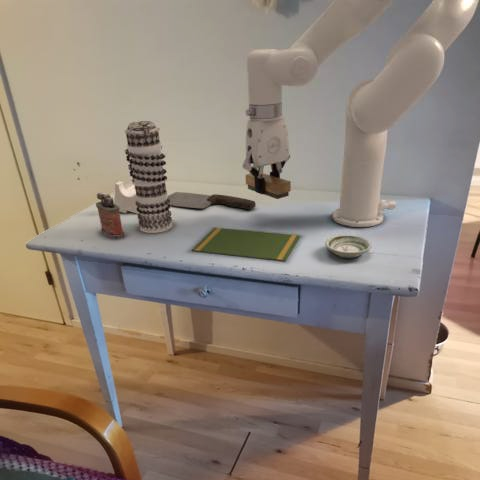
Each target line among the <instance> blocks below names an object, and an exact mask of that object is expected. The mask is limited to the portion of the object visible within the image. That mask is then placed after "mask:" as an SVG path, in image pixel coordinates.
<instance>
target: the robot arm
mask: <svg viewBox="0 0 480 480" xmlns="http://www.w3.org/2000/svg"><path fill="white" fill-rule="evenodd" d="M394 1H395V0H332V2H331V3H330V4H329V5H328V6H327V8H326V9H325V10H324V11H323V13H322V14H320V16H319V17H318V18H317V19H316V20H315V21H314V22H313V23H312V24H311V25H310V26H309V27H308V29H306V30H305V32H303V34H302V35H301V36H300V37H298V39H297V40H296V41H295V42H294V43H293V44H292V45H291V46H290V47H289V48H285V49H281V50H278V49H276V48H261V49H254V50H251V51H249V52H248V54H247V56H246V70H247V92H248V108H247V109H246V110H245V116H247V117H248V118H249V119H248V120H247V123H246V131H245V159H244V161H243V164H242V167H241V168H242V169H243V170H245V171H247V172H249V174H252V176H253V177H255V191H256V192H255V191H254V192H255V193H256V194H260V195H264V194H265V178H263V173H264V167H266V166H270V169H271V171H270V172H269V175H271V176H274V177H278V178H281V174H282V173H283V168H284V167H285V165H286V163H287V162H289V160H290V158H291V154H290V147H289V146H290V145H289V144H290V143H289V133H288V126H287V125H288V124H287V120H286V116H285V115H283V86H288V87H297V88H299V87H304V86H307V85H309V84H310V83H311V82H312V81H313V80H314V78H315V77H316V76H317V72H318V68H319V67H320V66H321V65H322V64H323V63H324V62H325V61H327V59H328V58H329V57H330V56H331V55H333V54H334V53H335V52H336V51H337V50H338V49H339V48H341V46H343V45H344V44H345V43H347V42H348V41H350V40H352V39H354V38H355V37H357V36H358V35H360V34H361V33H363V32H364V31H365V30H366V29H367V28H368V27H369V26H370V25H371V24H372V23H373V22H374V21H375V20H377V19H378V18H379V16H380V15H382V13H383V12H385V11H386V9H387V8H389V7H390V6H391V4H392V3H394ZM479 1H480V0H432V1H431V2H430V4H429V5H428V7H427V8H426V9H425V10H424V12H423V13H422V14H421V16H420V17H418V19H417V20H416V21H415V22H414V23H413V24H412V26H411V27H409V29H408V30H407V31H406V32H405V33H404V35H402V36H401V38H399V40H398V41H397V42H396V43H395V44H394V45H393V46H392V47H391V49H390V50H389V51H388V54H387V56H386V59H385V66H384V68H383V69H382V70H381V71H380V73H379V74H377V76H376V77H375V78H368V79H365V80H362V81H360V82H358V83H357V84H356V85H355V86H354V87H352V89H351V90H350V92H349V94H348V97H347V100H346V105H345V130H344V149H343V159H342V171H341V183H340V196H339V207H338V209H336V210H334V211H333V212H332V219H333V221H334V222H335V223H337V224H339V225H341V226H345V227H352V228H369V227H374V226H378V225H379V224H382V222H383V221H384V214H383V212H384V211H385V210H394V209H396V207H397V202H396V201H395V200H391V201H386V199H380V197H381V191H382V190H381V189H382V181H383V174H384V165H385V158H386V152H387V144H388V143H387V142H388V130H389V129H390V128H392V127H393V126H394V125H395V124H397V123H398V121H400V120H401V119H402V118H403V117H404V115H405V114H407V112H408V111H409V110H411V109H412V107H413V106H414V105H416V103H417V102H418V101H419V100H420V99H421V98H422V97H423V96H424V95H425V94H426V93H427V92H428V91H429V90H430V88H431V87H432V86H433V85H434V84H435V83H436V81H437V80H438V79H439V77H440V75H441V73H442V71H443V68H444V64H445V52H446V51H447V50H448V49H449V47H450V46H451V45H452V44H453V43H454V41H456V39H457V38H458V37H459V36H460V35H461V34H462V32H463V31H464V30H465V29H466V27H467V26H468V24H469V23H470V21H471V20H472V19H473V17H474V14H475V13H476V10H477V8H478V5H479Z"/></svg>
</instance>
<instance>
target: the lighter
mask: <svg viewBox="0 0 480 480" xmlns="http://www.w3.org/2000/svg"><path fill="white" fill-rule="evenodd" d="M96 198H97V200H100V201H97V202H96V203H95V207H96V208H97V212H98V217H99V221H100V227H101V228H100V229H101V233H102V234H103V235H104V236H106V237H108V238H111V239H115V240H119V239H123V238H125V232H124V230H123V225H122V220H121V214H120V211H119V206H117V205H116V204H114V202H115V200H114V198H113V196H112V197H111V195H110V194H109V193H108V194H105V193H101V192H98V193H97V194H96Z"/></svg>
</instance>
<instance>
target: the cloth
mask: <svg viewBox="0 0 480 480" xmlns="http://www.w3.org/2000/svg"><path fill="white" fill-rule="evenodd" d="M300 238H301V235H300V234H299V235H297V234H288V233H287V234H286V233H276V232H266V231H256V230H244V229H234V228H223V227H213V229H212V230H210V232H209V233H207V234H206V235H205V237H203V238H202V239H201V240H200V241H199V242H198V243H197V244H196V245H195V246H194V247H193V248H192V249H191V252H196V253H197V252H198V253H205V254H206V253H207V254H217V255H225V256H233V257H243V258H250V259H258V260H259V259H260V260H267V261H268V260H271V261H277V262H278V261H279V262H286V261H287V260H288V258H289V256H290V255H291V253H292V251H293V250H294V248H295V246H296V244H297V243H298V241H299V240H300Z"/></svg>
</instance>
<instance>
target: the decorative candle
mask: <svg viewBox="0 0 480 480" xmlns="http://www.w3.org/2000/svg"><path fill="white" fill-rule="evenodd" d="M159 130H160V127H157V125H156V124H155V122H153V121H149V120H142V121H134V122H133V121H132V122H130V123H129V124H128V126H127V128H126V129H125V130H124V133H125V136H126V142H127V143H126V147H127V148H126V149H125V150H124V153H125V155H126V161H127V162H128V163H129V164H128V170H129V176H130V177H131V183H132V185H135V190H136V200H137V201H136V202H135V203H136V206H138V207H137V212H139V213H138V214H137V220H138V225H139V229H140V231H141V232H143V233H147V234H157V233H162V232H163V233H164V232H167V231H169V230H171V229H172V227H173V217H172V214H173V213H172V211H171V210H170V209H171V205H170V204H168V203H169V202H170V200H169V198H168V196H169V194H168V190H167V187H166V182H168V180H167V179H168V177H167V175H165V174H167V170H166V169H165V168H164V166H166V165H167V162H166V161H165V160H164V159H165V158H166V155H165V154H164V153H162V151H161V150H162V148H163V145H162V142H161V140H160V133H159V132H160V131H159Z"/></svg>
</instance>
